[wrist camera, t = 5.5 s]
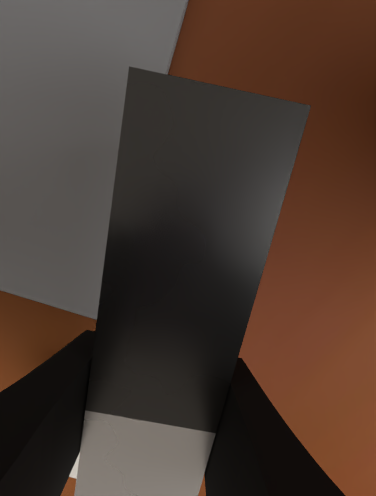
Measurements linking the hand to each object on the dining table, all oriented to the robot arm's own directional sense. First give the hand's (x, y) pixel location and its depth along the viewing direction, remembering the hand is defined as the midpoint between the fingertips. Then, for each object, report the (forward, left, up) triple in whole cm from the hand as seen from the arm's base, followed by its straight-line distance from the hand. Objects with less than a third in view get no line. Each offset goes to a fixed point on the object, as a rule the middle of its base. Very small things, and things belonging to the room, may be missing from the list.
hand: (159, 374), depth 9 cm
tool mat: (+7, -6, -7) cm, 11 cm away
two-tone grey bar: (0, 0, -2) cm, 2 cm away
